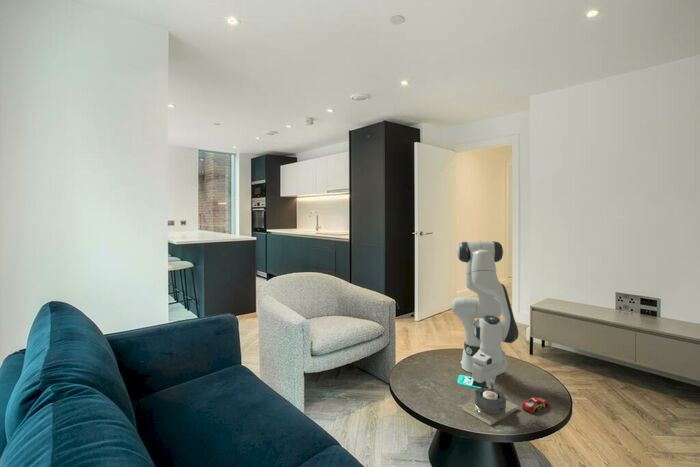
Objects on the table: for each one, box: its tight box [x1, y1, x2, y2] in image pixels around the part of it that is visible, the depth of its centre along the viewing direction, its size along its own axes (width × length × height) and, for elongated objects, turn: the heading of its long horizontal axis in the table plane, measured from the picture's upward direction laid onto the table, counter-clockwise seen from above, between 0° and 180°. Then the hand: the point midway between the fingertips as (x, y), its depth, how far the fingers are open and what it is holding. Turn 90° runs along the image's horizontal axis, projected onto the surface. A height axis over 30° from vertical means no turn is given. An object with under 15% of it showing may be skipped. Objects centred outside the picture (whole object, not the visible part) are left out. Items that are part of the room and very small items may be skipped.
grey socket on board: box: [461, 387, 519, 426], centre depth 153 cm, size 20×14×6 cm
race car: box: [521, 396, 549, 414], centre depth 154 cm, size 13×5×4 cm, turn 118°
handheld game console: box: [457, 374, 492, 390], centre depth 176 cm, size 10×16×1 cm, turn 63°
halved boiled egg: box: [483, 391, 498, 400], centre depth 153 cm, size 6×6×4 cm
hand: (490, 386), depth 152 cm, fingers closed
